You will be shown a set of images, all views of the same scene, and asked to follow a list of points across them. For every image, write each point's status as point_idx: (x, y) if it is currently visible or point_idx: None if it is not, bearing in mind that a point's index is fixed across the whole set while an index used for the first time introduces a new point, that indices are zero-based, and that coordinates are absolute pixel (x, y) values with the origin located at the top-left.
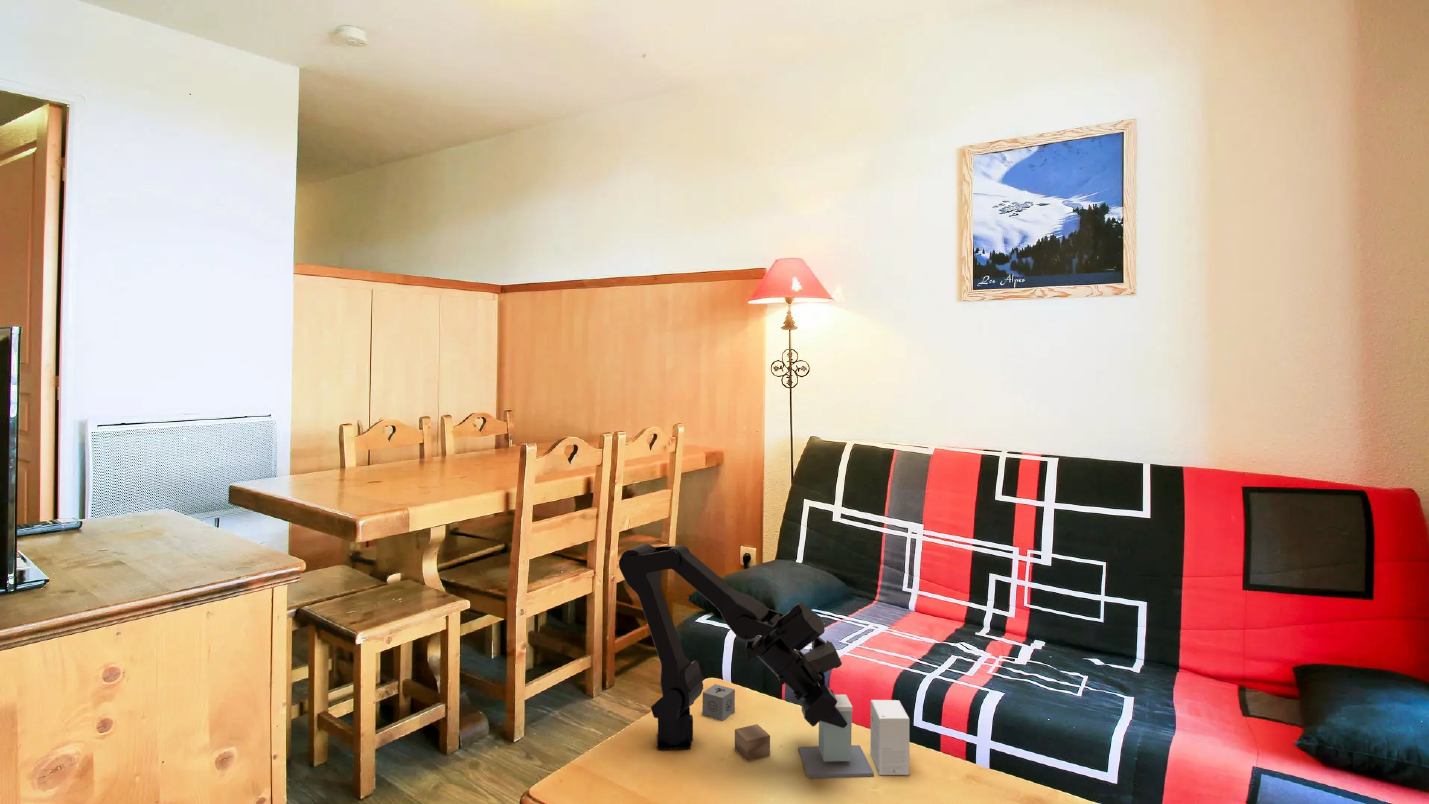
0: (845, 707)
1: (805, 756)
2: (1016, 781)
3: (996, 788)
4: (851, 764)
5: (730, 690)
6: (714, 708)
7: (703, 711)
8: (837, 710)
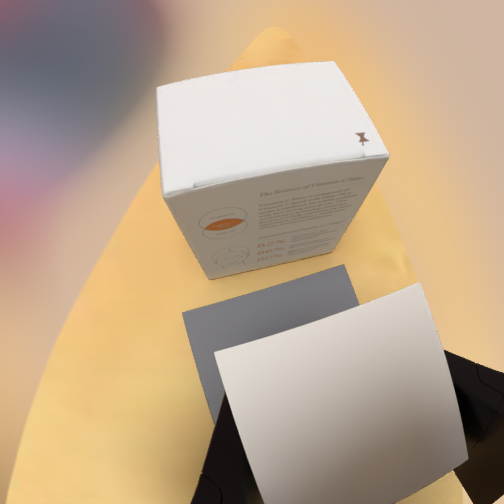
0: (435, 330)
1: None
2: (259, 38)
3: (294, 57)
4: None
5: None
6: None
7: None
8: (492, 369)
